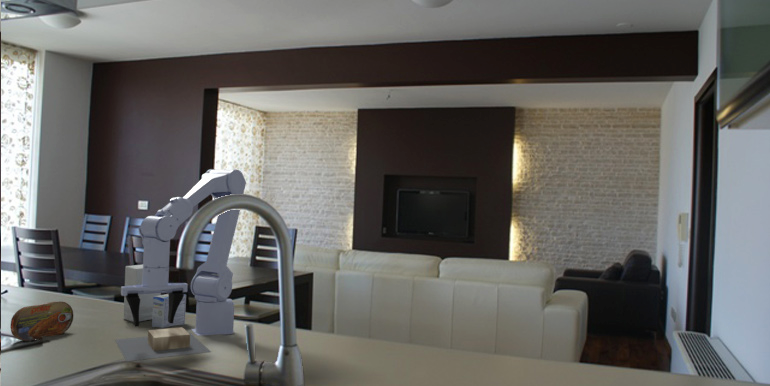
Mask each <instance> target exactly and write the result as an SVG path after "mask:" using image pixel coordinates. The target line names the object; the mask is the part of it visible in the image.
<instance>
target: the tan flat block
mask: <svg viewBox="0 0 770 386" xmlns="http://www.w3.org/2000/svg"><path fill="white" fill-rule="evenodd" d="M189 333H190V332H188V331H187V330H186V329H185V328H184V327H171V328H168V327H167V328H158V329H148V330H147V337H148V344H149V345H150V347H151V348H152V349H153V351H158V350H167V349H177V348H186V347H190V334H189Z"/></svg>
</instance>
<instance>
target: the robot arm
mask: <svg viewBox="0 0 770 386" xmlns="http://www.w3.org/2000/svg"><path fill="white" fill-rule="evenodd" d="M246 184H247V181H246V178H245V175H244V174H243V172H242V171H241V170H239V169H215V168H210V169H207V170H206V172H205V173H203V174H202V175H201V178H200V180H199V181H198V182H196V184H195V185H193V187H192V188H191V189H190V190H189V191H188V192H187V193H186V194H185V195H184V196H183V197H181V196H176V197H172V198H170V199H169V202H168V203H167V204H166V205H165V206H164V207H162V208H161V209H158V210H157V211H156V213H155V214H154V215H148V216H146V217H144V219H143V220H142V222H141V224H140V226H139V227H138V234H139V236H140V238H141V239H142V240H141V244H142V245H143V259H142V264H143V279H142V284H141V285H132V286H125V285H124V286H120V295H121V296H122V297H124V296H125V297H126V299H127V301H128V304H129V306H130V309H131V312H132V316H133V321H134V322H133V326H134V327H136V328H137V327H139V325H140V322H139V306H140V298H139V296H138V294H154V293H161V294H165V293H166V294H168V296H169V312H168V322H169V323H173V321H174V317H175V313H176V311H177V308H178V306H179V304H180V302H181V300H182V299H183V297H184V293H188V287H189V286H188V285H189V284H188V283H186V282H175V283H174V282H172V283H171V282H169V276H170V275H169V274H170V250H171V249H170V248H171V240H172V239H174V237H175V236H176V234H177V230H178V228H179V227H180V225H182V224H183V223H184V222H185V221H186V220H187V219H189V218H190V217H191V216H192V215H193V211H194V207H195V206H197V205H199V203H201V202H202V201H203V200H205V199H206V198H208V197H209V196H210V195H211V197H212V198H213V199H214V200H215V198H218V197H221V196H225V195H230V194H243V195H244V192H245V189H246V186H247V185H246ZM240 212H241V209H240V210H230V211H227V212H225V213H223V214H221V215H219V216H218V215H217V218H216V222H215V226H214V228H213V229H214V231H213V232H212V233H213V234H212V237H211V240H210V241H211V242H210V245H209V250H208V253H207V256H206V260H205V262H203V263H202V264H201V265H199V266H197V269H196V273H195V274H194V276H193V278H192V279H191V282H190V292H191V293H192V294H193V295H194V300H196V305H195V306H196V307H195V308H196V311H195V328H191V329H190V330H191V331H192V332H193V333H194V334H195V335H196V336H198V337H201V336H202V337H203V336H211V335H213V336H214V335H222V336H224V335H225V336H226V335H233V334H234V333H235V332H234V327H235V326H234V324H235V323H234V322H235V321H234V320H235V319H234V318H235V305H234V304H235V303H234V301H233V299H232V298H229V297H230V295H231V293H232V291H233V276H234V273H233V272H232V271H231V269H230V268H229V267H228V261H229V258H230V253H231V249H232V245H233V240H234V236H235V233H236V229H237V223H238V220H239V216H240ZM159 290H161V291H159Z"/></svg>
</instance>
